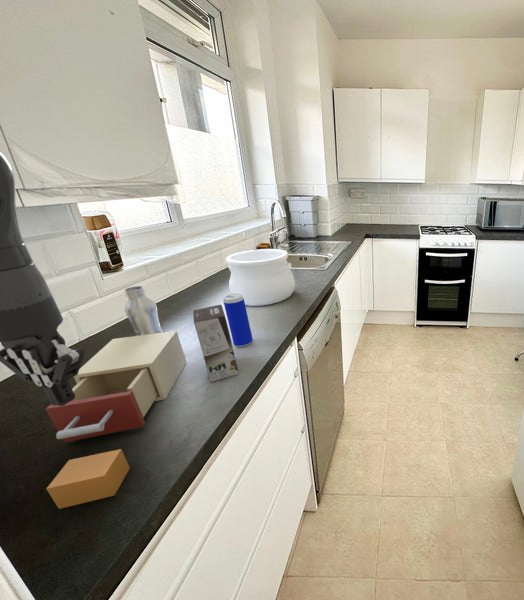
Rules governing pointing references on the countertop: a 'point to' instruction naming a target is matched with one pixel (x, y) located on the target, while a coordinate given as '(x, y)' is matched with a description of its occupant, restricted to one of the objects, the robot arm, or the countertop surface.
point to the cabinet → (141, 359)
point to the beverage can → (238, 320)
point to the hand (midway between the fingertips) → (64, 401)
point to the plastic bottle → (142, 312)
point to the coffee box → (215, 342)
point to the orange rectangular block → (89, 478)
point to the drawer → (105, 404)
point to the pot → (261, 276)
